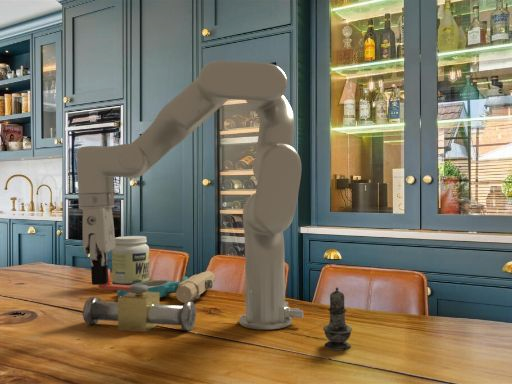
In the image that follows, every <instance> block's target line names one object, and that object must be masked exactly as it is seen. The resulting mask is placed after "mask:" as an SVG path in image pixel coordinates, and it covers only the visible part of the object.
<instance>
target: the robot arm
mask: <svg viewBox="0 0 512 384" xmlns="http://www.w3.org/2000/svg"><path fill="white" fill-rule="evenodd" d="M287 88H288V78H287V75H286V74H285V72H284V70H283V69H282V68H281V67H279V66H278V65H275V64H273V63H270V62H256V61H237V60H215V61H210V62H208V63H206V65H204V66H203V67H202V69H201V70H200V72H199V75H198V77H197V78H195V80H193V81H192V82H191V83H190V84H189V85H187V86H186V87H185V88H183V90H182V91H180V92H179V93H178V94H177V95H176V96H175V97H174V98H172V99H171V100H170V101H169V102H168V103H166V104H165V105H164V106H163V107H162V108H161V110H160V111H159V112H158V113H157V115H156V117H155V119H154V121H152V123H151V124H150V125H149V126H148V127H147V129H146V130H145V131H143V132H142V134H141V135H139V136H138V137H137V138H136V139H134V141H133V142H131V143H123V144H118V145H110V146H109V145H108V146H105V145H104V146H103V145H86V146H82V147H79V148H78V149H77V151H76V171H77V193H78V195H77V197H78V210H82V248H83V252H84V254H85V255H89V260H90V270H91V284H92V286H94V285H95V286H96V285H97V286H98V285H99V284H106V283H107V282H108V269H109V265H108V253H111V252H112V250H113V249H114V248H115V245H116V244H115V238H116V236H115V224H114V223H115V222H114V215H113V210H112V208H115V193H114V191H115V190H114V187H115V186H114V177H119V178H126V179H134V180H135V179H137V178H140V177H142V176H143V175H145V174H146V173H147V172H148V171H149V170H150V169H151V168H153V166H155V165H156V164H157V163H158V162H159V161H160V160H161V159H163V157H165V156H166V155H167V154H168V153H169V152H170V151H172V149H174V148H175V147H177V146H178V145H179V144H180V143H181V142H183V141H184V140H185V139H186V138H187V137H188V136H189V135H190V134H192V133H193V132H194V131H196V129H197V128H198V127H200V125H201V124H203V123H204V122H205V121H206V120H207V119H208V118H209V117H211V116H212V115H213V114H215V112H216V111H218V110H219V109H220V108H221V107H222V106H224V104H226V103H227V102H228V101H229V100H241V101H245V102H246V103H247V105H249V107H251V108H252V109H253V110H254V112H255V113H256V114H257V117H258V121H259V123H258V124H259V126H258V137H257V143H256V147H255V148H256V149H255V155H254V159H253V164H252V172H253V175H254V178H255V179H256V180H257V184H256V191H255V193H253V194H251V195H250V196H249V197H248V198H247V199H246V200H245V203H244V205H243V210H242V222H243V223H242V225H243V234H244V276H245V277H244V282H245V287H244V289H245V290H244V291H245V299H244V300H245V313H244V314H242V315H240V316H239V319H238V320H239V321H238V323H239V324H240V325H241V326H243V327H244V328H246V329H251V330H262V331H264V330H265V331H268V330H277V329H283V328H287V327H288V326H290V325H291V324H292V322H293V321H292V319H293V318H295V319H303V318H304V310H303V309H300V308H299V307H293V308H292V307H290V306H289V302H288V301H286V283H285V279H286V276H285V275H286V272H285V271H286V270H285V268H286V267H285V265H286V264H285V263H286V261H285V258H286V257H285V253H286V252H285V251H286V249H285V239H284V238H285V237H284V231H285V230H287V229H288V228H289V227H290V225H291V224H292V223H293V221H294V218H295V217H294V216H295V214H296V210H297V203H298V198H299V192H300V191H299V190H300V184H301V179H302V178H301V177H302V168H303V167H302V161H301V157H300V155H299V153H298V152H297V150H296V149H295V148H294V147H293V143H294V134H295V115H294V112H293V109H292V106H291V104H290V103H289V102H288V99H286V97H285V96H284V95H285V93H286V92H287Z"/></svg>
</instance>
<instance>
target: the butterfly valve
mask: <svg viewBox="0 0 512 384" xmlns="http://www.w3.org/2000/svg"><path fill="white" fill-rule="evenodd" d="M215 280H216V276H215V273H213V271H211V270H210V271H209V270H206V271H203V272H200V273H198V274H193V275H192V276H190V277H188V276H183V277H182V280H181V281H174V282H173V280H172V279H154V280H150V281H147V282H141V283H136V284H132V285H130V286H134V285H147V286H148V291H147V292H159V298H162V297H165V296H168V295H171V294H175V297H176V299H177V300H178V302H181V303H183V304H184V303H185V302H187V301H188V302H193V301H197V300H198V299H200V298H201V294H203V293H204V292H205V291H207V290H209V289H212V288H213V286H214V283H215ZM128 293H130V291H122V290H116V294H117V298H118V297H120V296H123V295H125V294H128Z"/></svg>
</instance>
